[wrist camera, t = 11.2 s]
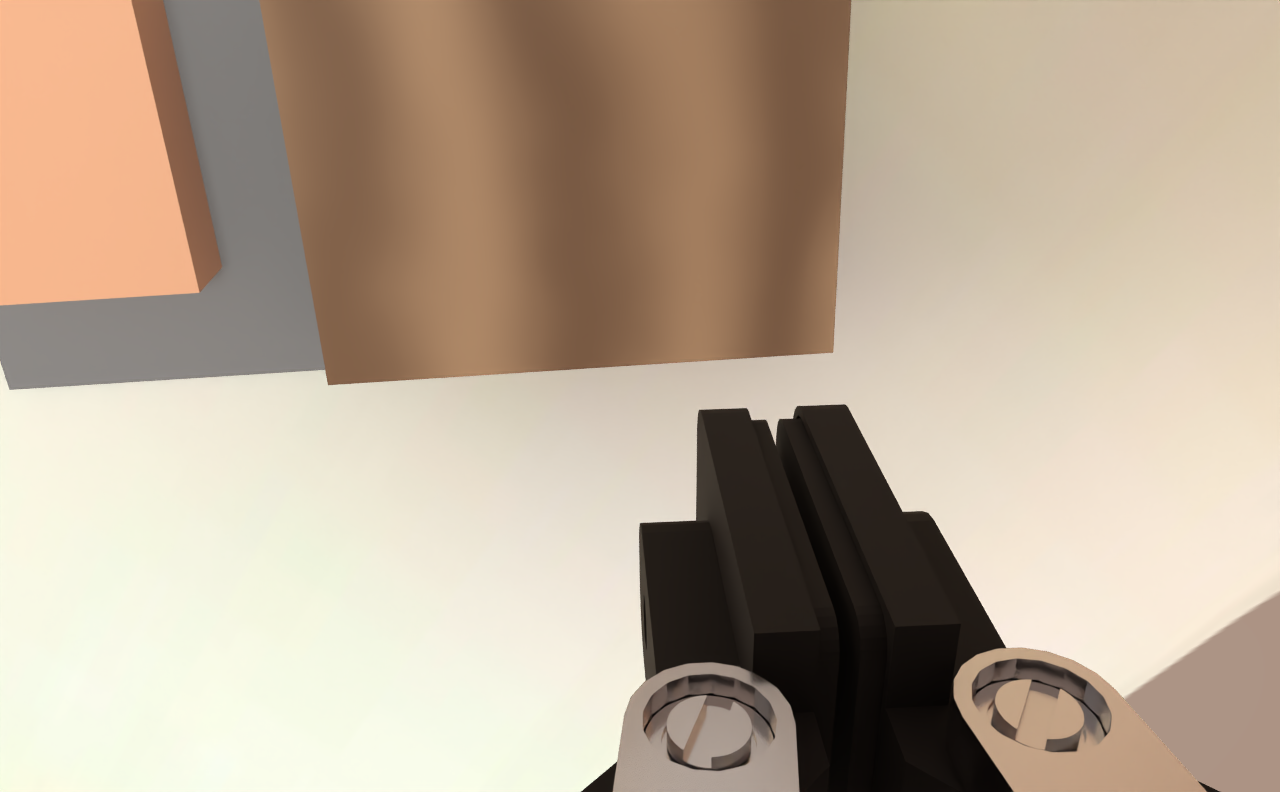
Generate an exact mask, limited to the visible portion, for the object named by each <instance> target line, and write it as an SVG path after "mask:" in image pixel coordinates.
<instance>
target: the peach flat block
mask: <svg viewBox="0 0 1280 792" xmlns="http://www.w3.org/2000/svg"><path fill="white" fill-rule="evenodd" d="M221 268H222V264H221V260H220V255H219V251H218V246H217V242H216V237H215V232H214V228H213V223H212V219H211V214H210V210H209V205H208V201H207V196H206V192H205V187H204V183H203V178H202V174H201V169H200V165H199V160H198V156H197V151H196V147H195V142H194V138H193V133H192V129H191V124H190V120H189V115H188V111H187V106H186V102H185V97H184V93H183V88H182V83H181V79H180V74H179V70H178V65H177V61H176V56H175V52H174V47H173V43H172V38H171V34H170V29H169V25H168V20H167V16H166V11H165V7H164V2H163V0H0V305H16V304H31V303H47V302H63V301H79V300H94V299H110V298H126V297H142V296H157V295H173V294H189V293H200V292H201V291H202V290H203V288H204V287H205V286H206V285H207V284H208V283H209V282H210V280H211V279H212V278H213V277H214V276H215V275H216V274H217V273H218V271H219V270H220V269H221Z"/></svg>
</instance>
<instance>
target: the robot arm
mask: <svg viewBox="0 0 1280 792" xmlns="http://www.w3.org/2000/svg"><path fill="white" fill-rule="evenodd" d="M639 555H640V600H641V623H642V641H643V655H644V667H645V678H646V681H645V682H644V683H643V684H642V685H641V686H640V687H639V689H638V690H637V691H636V692H635V693H634V694H633V695H632V696H631V698H630V701H629V704H628V706H627V709H626V712H625V714H624V720H623V727H622V733H621V740H620V747H619V753H618V760H617V762H616V763H615V764H614V765H613V766H611V767H610V768H609V769H608V770H607V771H605V772H604V773H603V774H602V775H601V776H599V777H598V778H597V779H596V780H595V781H593V782H592V783H591V784H590V785H589V786H587V787H586V788H585V789H584V790H583V791H581V792H1219V791H1217V790H1215V789H1213V788H1211V787H1209V786H1207V785H1205V784H1203V783H1201V782H1199V781H1197V780H1196V779H1195V778H1194V777H1193V776H1192V774H1191V773H1190V772H1189V771H1188V770H1187V769H1186V768H1185V767H1184V766H1183V765H1182V763H1181V762H1180V761H1179V760H1178V759H1177V758H1176V757H1175V755H1174V754H1173V753H1172V752H1171V751H1170V750H1169V749H1168V748H1167V747H1166V745H1165V744H1164V743H1163V742H1162V741H1161V740H1160V739H1159V738H1158V736H1157V735H1156V734H1155V733H1154V732H1153V731H1152V730H1151V729H1150V728H1149V727H1148V725H1147V724H1146V723H1145V722H1144V721H1143V720H1142V719H1141V717H1140V716H1139V715H1138V714H1137V713H1136V712H1135V711H1134V710H1133V709H1132V707H1131V706H1130V705H1129V704H1128V703H1127V702H1126V701H1125V700H1124V698H1123V697H1122V696H1121V695H1120V694H1119V693H1118V692H1117V691H1116V690H1115V689H1114V688H1113V687H1112V686H1111V685H1110V684H1108V683H1107V682H1106V681H1105V680H1104V679H1103V678H1102V677H1100V676H1099V675H1098V674H1097V673H1095V672H1093V671H1092V670H1090V669H1088V668H1086V667H1084V666H1083V665H1081V664H1079V663H1077V662H1076V661H1074V660H1071V659H1068V658H1065V657H1062V656H1059V655H1056V654H1053V653H1050V652H1047V651H1041V650H1034V649H1028V648H1006V647H1005V645H1004V643H1003V641H1002V640H1001V638H1000V636H999V634H998V633H997V631H996V629H995V627H994V626H993V624H992V622H991V620H990V618H989V617H988V615H987V613H986V611H985V610H984V608H983V606H982V604H981V603H980V601H979V599H978V597H977V595H976V594H975V592H974V590H973V588H972V587H971V585H970V583H969V581H968V580H967V578H966V576H965V574H964V573H963V571H962V569H961V567H960V565H959V564H958V562H957V560H956V558H955V557H954V555H953V553H952V551H951V550H950V548H949V546H948V544H947V542H946V541H945V539H944V537H943V535H942V534H941V532H940V530H939V528H938V527H937V525H936V523H935V521H934V520H933V518H932V517H931V516H930V515H929V513H927V512H923V511H916V512H902V510H901V508H900V506H899V504H898V502H897V500H896V498H895V496H894V495H893V493H892V491H891V489H890V487H889V485H888V483H887V481H886V479H885V477H884V475H883V474H882V472H881V470H880V468H879V466H878V464H877V462H876V460H875V458H874V456H873V454H872V452H871V451H870V449H869V447H868V445H867V443H866V441H865V439H864V437H863V435H862V433H861V431H860V430H859V428H858V426H857V424H856V422H855V420H854V418H853V416H852V414H851V412H850V410H849V409H848V407H847V406H846V405H819V406H797V407H796V409H795V412H794V417H793V419H779V421H778V425H777V436H776V445H775V443H774V440H773V437H772V434H771V431H770V429H769V426H768V423H767V421H766V420H751V417H750V414H749V411H748V409H747V408H739V409H712V410H699V413H698V423H697V496H696V521H679V522H655V523H640V527H639Z"/></svg>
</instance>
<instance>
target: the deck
mask: <svg viewBox="0 0 1280 792" xmlns="http://www.w3.org/2000/svg"><path fill="white" fill-rule="evenodd" d="M259 2H260V7H261V13H262V18H263V24H264V29H265V35H266V41H267V46H268V52H269V57H270V63H271V69H272V74H273V80H274V85H275V91H276V97H277V102H278V108H279V113H280V119H281V125H282V130H283V136H284V141H285V147H286V152H287V158H288V164H289V169H290V175H291V180H292V186H293V192H294V197H295V203H296V208H297V214H298V220H299V225H300V231H301V236H302V242H303V247H304V253H305V259H306V264H307V270H308V275H309V281H310V287H311V292H312V298H313V303H314V309H315V315H316V320H317V326H318V331H319V337H320V342H321V348H322V354H323V359H324V365H325V370H326V376H327V382H328V385H336V384H352V383H367V382H383V381H398V380H414V379H429V378H445V377H460V376H476V375H491V374H507V373H522V372H538V371H553V370H569V369H584V368H600V367H615V366H631V365H646V364H662V363H677V362H693V361H709V360H724V359H740V358H755V357H771V356H786V355H802V354H817V353H833V345H834V326H835V306H836V287H837V267H838V247H839V228H840V208H841V189H842V169H843V150H844V130H845V111H846V91H847V72H848V52H849V33H850V13H851V0H259Z"/></svg>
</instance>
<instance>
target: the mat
mask: <svg viewBox="0 0 1280 792" xmlns="http://www.w3.org/2000/svg"><path fill="white" fill-rule="evenodd" d="M163 2H164V7H165V11H166V16H167V20H168V25H169V29H170V34H171V38H172V43H173V47H174V52H175V56H176V61H177V65H178V70H179V74H180V79H181V83H182V88H183V93H184V97H185V102H186V106H187V111H188V115H189V120H190V124H191V129H192V133H193V138H194V142H195V147H196V151H197V156H198V160H199V165H200V169H201V174H202V178H203V183H204V187H205V192H206V196H207V201H208V205H209V210H210V214H211V219H212V223H213V228H214V232H215V237H216V242H217V246H218V251H219V255H220V260H221V264H222V268H221V269H220V270H219V271H218V273H217V274H216V275H215V276H214V277H213V278H212V279H211V280H210V282H209V283H208V284H207V285H206V286H205V287H204V288H203V290H202V291H201V292H200V293H189V294H173V295H157V296H142V297H126V298H110V299H94V300H79V301H63V302H47V303H31V304H16V305H0V361H1V365H2V368H3V371H4V374H5V377H6V380H7V383H8V386H9V389H10V390H13V389H29V388H45V387H60V386H76V385H92V384H108V383H123V382H139V381H155V380H170V379H186V378H202V377H218V376H233V375H249V374H265V373H281V372H296V371H312V370H325V365H324V359H323V354H322V348H321V342H320V337H319V331H318V326H317V320H316V315H315V309H314V303H313V298H312V292H311V287H310V281H309V275H308V270H307V264H306V259H305V253H304V247H303V242H302V236H301V231H300V225H299V220H298V214H297V208H296V203H295V197H294V192H293V186H292V180H291V175H290V169H289V164H288V158H287V152H286V147H285V141H284V136H283V130H282V125H281V119H280V113H279V108H278V102H277V97H276V91H275V85H274V80H273V74H272V69H271V63H270V57H269V52H268V46H267V41H266V35H265V29H264V24H263V18H262V13H261V7H260V2H259V0H163Z"/></svg>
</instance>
